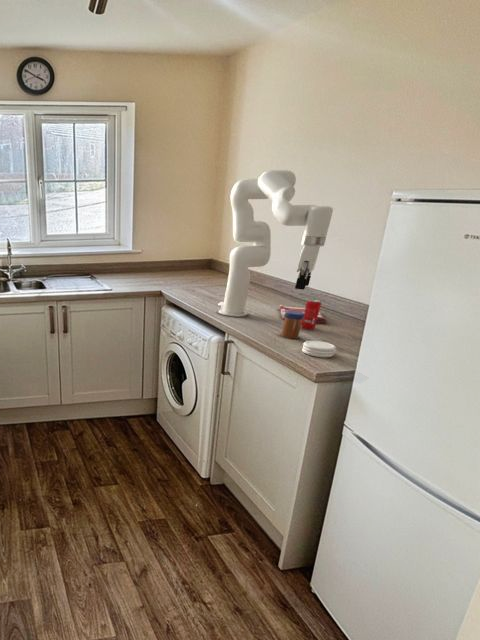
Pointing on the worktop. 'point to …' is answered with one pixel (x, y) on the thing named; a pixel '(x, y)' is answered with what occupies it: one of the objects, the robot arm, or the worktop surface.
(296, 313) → the jam lid
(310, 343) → the coaster
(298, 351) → the worktop surface
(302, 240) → the robot arm
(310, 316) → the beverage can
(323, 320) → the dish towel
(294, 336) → the jam jar
